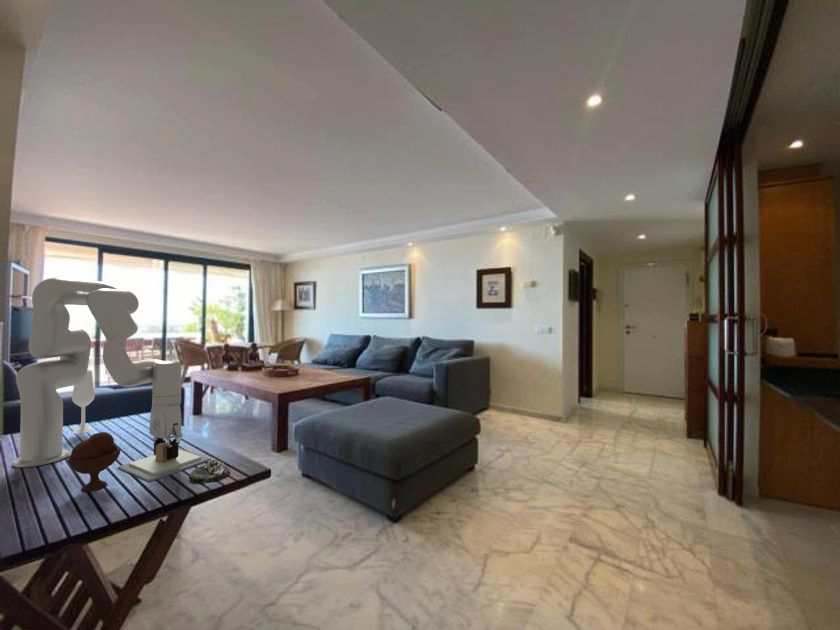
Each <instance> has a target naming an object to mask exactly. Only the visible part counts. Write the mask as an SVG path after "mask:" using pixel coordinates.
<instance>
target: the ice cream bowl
mask: <svg viewBox="0 0 840 630" xmlns="http://www.w3.org/2000/svg"><path fill="white" fill-rule="evenodd" d="M114 440H115V439H114V436H113V435H112V434H110V433H109V432H107V431H100V432H96V433H93V434H92V435H90V437H89V438H87V439H85V440H81V441H80V442H78V443H77V444H76V445H75V446H74V447H73V449H72V450H71V453H70V454H69V455H68V456H67V457H66V459H67V462H68V464H69V466H70V468H71V469H72V470H73V471H75V472H77V473H79V474H83V475H84V474H85V475H89V477H90V478H89V482H87V483H86V484H84V485H83V486H82V487H81V488H80V491H81V492H82V493H91V492H95V491H96V492H97V491H99V490H101V489H105V488H106V487H107V486H108V483H107V482H106V481H105V480H100V477H99V475H100V473H101V472H102V471H105V470H106V469H108V468H109V467H111V465H113V464H114V463H115V462H116V461H117V460H118V459H119V457H120V454H121V451H122V449H121V447H119V446H118V445H116V443H115V441H114Z"/></svg>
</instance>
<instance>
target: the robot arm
mask: <svg viewBox="0 0 840 630" xmlns="http://www.w3.org/2000/svg"><path fill="white" fill-rule="evenodd" d="M31 302H32V318H31V319H32V320H31V325H30V331H29V338H28V339H29V340H28V352H29V354H30V355H31V356H33V357H34V358H38V359H48V358H49V359H50V358H52V359H53V358H59V359H53V360H47V361H39V362H38V361H37V362H33V363H29V364H27V365H25V366H23V367H21V369H19V371H18V372H17V374H16V378H15V381H16V385H17V389H18V392H19V399H20V400H19V401H20V425H19V426H20V428H19V429H20V434H19V437H20V438H19V439H20V440H19V443H20V444H19V446H20V447H19V457H16V458H15V459H13V460H12V466H13V467H15V468H32V467H39V466H45V465H47V464H48V465H49V464H52V463H55V462H59V461H61V460H64V459H67V457H68V456H70V452H69V450H68V449H63V445H64V444H63V439H64V438H63V436H64V435H63V434H64V433H63V431H64V429H63V428H64V402H63V399H62V397H61V396H60V394H59V393H58V391H57V390H59V389H64V388H68V387H74V385H77V384H79V383H80V382H82V381H83V380H84V378H85V376H86V374H87V370H89V369H88V368H89V364H90V363H89V362H90V356H91V355H90V354H91V349H92V341H91V336H90V335H89V333H88V332H87V331H86V330H84V329H82V328H80V327H70V322H71V317H70V312H69V310H68V308H67V306H69V305H73V306H75V305H76V306H87V307H88V309H89V311H90V313H91V314H92V316H93V319H94V320H95V321H96V323H97V325H98V327H99V328H100V330H101V333H102V334H103V336H104V337H105V342H104V345H103V349H102V361H103V363H104V364H103V365H104V367H105V368H106V371H108V373H109V375H110V377H111V379H112V380H113V381H114V382H115V383H116V384H117V385H118V386H120V387H123V388H132V387H136V386H140V385H144V384H150V383H152V390H151V391H152V395H151V400H152V404H151V410H150V417H149V429H148V430H149V435H150V436H152V437H153V439H152V442H153V456H154V455H156V445H157V444H161V443H164V442H167V443H168V447H167V460H171V459H174V458H177V457H178V450H179V448H180V446H179V445H180V442H181V440H182V439H183V433H182V411H181V404H182V363H181V362H180V361H178V360H161V359H155V358H149V359H147V358H146V359H143V360H133V361H132V360H131V359H130V356H129V355H128V353H127V350H126V342H127V340H128V339H129V338H131V337H133V336H134V335H135V334H136V333H137V332H138V325H137V324H136V322H135V320H134V319H133V317H132V315H131V314H134V313H135V312H136V311H137V310H138V308H139V305H140V304H139V303H140V302H139V300H138V298H137V296H136V295H135V294H134V293H133V292H132V291H130V290H127V289H124V288H121V287H117V286H115V285H112V284H109V283H107V282H102V281H97V280H89V279H81V278H73V277H72V278H71V277H52V278H47V279H44V280H42V281H40V282H39V283H37V285H36V286H35V287H34V289H33V291H32V295H31ZM66 305H67V306H66Z"/></svg>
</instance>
